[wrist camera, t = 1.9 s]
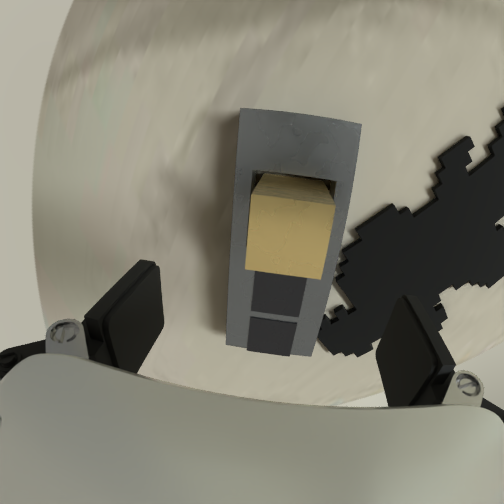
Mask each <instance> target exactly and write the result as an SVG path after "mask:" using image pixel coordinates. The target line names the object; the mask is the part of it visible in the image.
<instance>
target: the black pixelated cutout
mask: <svg viewBox="0 0 504 504" xmlns="http://www.w3.org/2000/svg"><path fill="white" fill-rule="evenodd" d="M501 110H502V112H503V115H504V107H503V108H502V109H501ZM495 129H496V131H497V133H498V137H497V138H496V139H495V140H493V141H492V142H491V143H490V144H488V145H487V146H488V148H489V150H490V153H491V155H490V156H489V157H488V158H486V159H485V160H484V161H483V162H481V163H480V164H479V165H478V166H476V167H475V168H474V169H473V170H471V171H470V172H469V173H468V172H467V169H466V166H467V165H468V164H470V163H471V162H472V160H471V157H470V155H469V153H468V151H469V150H471V149H472V148H473V147H475V146H474V144H473V142H472V140H471V137H470V136H466V137H464V138H463V139H462V140H460V141H459V142H458V143H456V144H455V145H453V146H452V147H451V148H449V149H448V150H447V151H445V152H444V153H443V154H441V155H440V156H439V157H438V159H439V161H440V163H441V165H442V168H440V169H439V170H438V171H436V172H435V175H436V177H437V179H438V181H439V183H438V184H436V185H435V186H434V187H432V190H433V192H434V194H435V197H436V198H435V199H433V200H432V201H430V202H429V203H428V204H426V205H425V206H424V207H422V208H421V209H419V210H418V211H417V212H415V213H414V214H412V213H411V211H410V210H409V208H408V207H405V208H403V209H402V210H400V211H399V212H398V211H397V209H396V207H395V205H394V204H390V205H389V206H387V207H386V208H385V209H383V210H382V211H380V212H379V213H377V214H376V215H374V216H373V217H372V218H370V219H369V220H367V221H366V222H364V223H363V224H361V225H360V226H358V227H357V228H355V229H356V231H357V233H358V234H359V236H360V237H361V238H359V239H358V240H356V241H355V242H353V243H352V244H350V245H349V246H347V247H346V248H344V249H343V250H342V251H343V253H344V255H345V256H346V258H347V259H346V260H344V261H343V262H341V263H340V264H339V267H340V269H341V270H342V271H343V273H342V274H340V275H339V276H337V277H336V282H337V283H338V285H339V286H340V287H341V289H342V290H343V291H344V293H345V294H346V296H347V297H348V298H349V300H350V301H351V302H352V304H353V305H354V307H353V308H351V309H350V310H348V311H347V310H346V309H345V307H344V306H343V304H342V305H340V306H339V307H337V308H335V309H334V314H335V315H336V316H337V317H336V318H334V319H332V320H330V319H329V318H328V317H327V316H326V314H325V315H323V319H322V322H321V326H320V329H319V332H318V336H317V337H318V339H319V340H320V341H321V342H322V343H323V344H324V345H325V347H326V348H327V349H328V350H329V351H330V352H331V353H332V354H333V356H334V355H336V354H338V353H340V352H342V353H343V354H344V355H345V356H348V355H350V354H352V353H354V354H355V355H356V356H357V357H359V356H361V355H363V354H365V353H367V352H369V351H371V350H373V347H372V344H371V343H373V342H375V341H376V340H378V339H380V338H382V336H383V333H384V331H385V328H386V326H387V324H388V321H389V319H390V316H391V314H392V311H393V308H394V306H395V303H396V301H397V299H398V298H401V297H402V295H412V296H417V297H418V299H419V300H420V302H421V304H422V305H423V307H424V308H425V310H426V312H427V313H428V315H429V317H430V318H431V320H432V322H433V324H434V325H435V327H436V329H437V330H438V331H440V330H441V329H443V328H442V325H441V323H442V322H443V321H445V320H446V319H448V317H447V315H446V312H445V309H444V307H443V305H442V304H441V303H440V304H439V305H437V306H436V307H434V305H436V304H437V303H438V302H440V301H441V299H440V297H439V294H440V293H441V292H443V291H444V290H445V289H447V288H448V287H450V286H451V285H453V287H454V288H455V290H457V289H458V288H460V287H461V286H463V285H464V284H465V283H467V282H468V281H469V283H470V284H471V286H473V285H475V284H476V283H477V284H478V285H479V286H480V287H482V286H483V285H484V284H485V285H486V286H487V287H488V289H489V288H490V287H491V286H492V285H494V284H495V283H496V282H497V281H498V280H500V279H501V278H502V277H503V276H504V228H503V226H502V225H500V224H499V225H498V226H495V223H496V222H497V221H498V220H500V219H501V218H502V217H503V216H504V120H503V121H502V122H500V123H499V124H498V125H497V126H495Z"/></svg>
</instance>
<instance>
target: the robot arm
mask: <svg viewBox="0 0 504 504" xmlns="http://www.w3.org/2000/svg"><path fill="white" fill-rule="evenodd" d="M84 318H85V319H84V320H83V322H82V323H80V322H79V321H77V320H75V319H63V320H59V321H57V322H55V323H53V324H52V325H51V326H50V327H49V328H48V330H47V332H46V339H45V340H41V341H37V342H33V343H29V344H25V345H21V346H16V347H12V348H8V349H6V350H4V351H2V352H1V353H0V504H504V410H502V409H501V408H499V407H497V406H496V405H494V404H492V403H491V402H489V401H487V400H486V399H484V398H483V394H484V387H483V384H482V382H481V380H480V379H479V378H478V377H477V376H476V375H475V374H473V373H471V372H469V371H465V370H461V371H458V372H456V373H455V372H454V370H453V369H454V367H455V366H456V364H455V362H454V360H453V358H452V356H451V354H450V352H449V350H448V348H447V347H446V345H445V343H444V341H443V339H442V337H441V336H440V334H439V332H438V330H437V329H436V327H435V325H434V324H433V322H432V320H431V318H430V317H429V315H428V313H427V312H426V310H425V308H424V307H423V305H422V304H421V302H420V300H419V299H418V297H417V296H412V295H402V297H401V298H398V299H397V301H396V303H395V306H394V308H393V311H392V314H391V316H390V319H389V321H388V324H387V326H386V328H385V331H384V333H383V336H382V338H381V340H380V342H379V345H378V347H377V349H376V360H377V364H378V368H379V371H380V375H381V379H382V383H383V387H384V390H385V394H386V398H387V403H388V407H337V406H318V405H304V404H292V403H282V402H273V401H265V400H258V399H251V398H244V397H238V396H232V395H226V394H220V393H215V392H210V391H205V390H200V389H195V388H190V387H186V386H182V385H177V384H173V383H169V382H165V381H161V380H158V379H154V378H150V377H146V376H143V375H139V374H137V372H138V370H139V369H140V367H141V365H142V363H143V362H144V360H145V358H146V357H147V355H148V353H149V351H150V350H151V348H152V346H153V345H154V343H155V341H156V339H157V338H158V336H159V334H160V333H161V331H162V329H163V327H164V314H163V304H162V292H161V280H160V268H159V266H156V264H155V262H153V261H147V260H139V261H138V262H137V263H136V264H135V265H134V266H133V267H132V268H131V269H130V270H129V271H128V272H127V273H126V274H125V275H124V276H123V277H122V278H121V279H120V280H119V281H118V282H117V283H116V284H115V285H114V286H113V287H112V288H111V289H110V290H109V291H108V292H107V293H106V294H105V295H104V296H103V297H102V298H101V299H100V300H99V301H98V302H97V303H96V304H95V305H94V306H93V307H92V308H91V309H90V310H89V311H88V312H87V313H86V315H85V316H84Z"/></svg>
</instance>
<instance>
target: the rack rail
mask: <svg viewBox="0 0 504 504" xmlns="http://www.w3.org/2000/svg"><path fill="white" fill-rule="evenodd" d="M361 126H362V124H358V123H354V122H348V121H343V120H338V119H332V118H326V117H320V116H314V115H307V114H299V113H291V112H283V111H273V110H262V109H249V108H240V118H239V130H238V143H237V156H236V169H235V183H234V197H233V213H232V229H231V245H230V263H229V282H228V302H227V325H226V345H231V346H236V347H242V348H247V351H253V352H260V353H267V354H274V355H282V356H290V354H292V355H301V356H310V357H311V355H312V352H313V349H314V346H315V342H316V339H317V336H318V332H319V329H320V326H321V322H322V319H323V315H324V311H325V308H326V304H327V300H328V297H329V293H330V289H331V285H332V281H333V277H334V273H335V269H336V265H337V260H338V256H339V252H340V247H341V243H342V238H343V233H344V229H345V224H346V219H347V214H348V209H349V203H350V198H351V192H352V187H353V181H354V175H355V169H356V162H357V156H358V149H359V142H360V134H361ZM256 170H261V171H270V172H278V173H286V174H294V175H301V176H308V177H315V178H321V179H328V180H331V185H330V191H329V193H330V195H331V197H332V199H333V201H334V203H335V205H336V208H335V213H334V219H333V224H332V229H331V234H330V239H329V244H328V249H327V254H326V259H325V263H324V268H323V272H322V277H321V280H320V279H312V278H305V277H297V276H290V275H282V274H275V273H268V272H261V271H254V270H247V269H245V262H246V250H247V238H248V226H249V215H250V203H251V194H252V192H253V191H254V189H255V181H256Z"/></svg>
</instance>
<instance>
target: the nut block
mask: <svg viewBox="0 0 504 504" xmlns="http://www.w3.org/2000/svg"><path fill="white" fill-rule="evenodd" d="M335 208H336V205H335V203H334V201H333V199H332V197H331V195H330V193H329V191H328V189H327V188H326V186H325V184H324V182H323V181H319V180H312V179H305V178H298V177H291V176H283V175H275V174H267V173H264V174H263V176H262V178H261V179H260V181H259V182H258V184H257V186H256V187H255V189H254V191H253V192H252V194H251V203H250V215H249V226H248V238H247V250H246V262H245V269H247V270H254V271H261V272H268V273H275V274H282V275H290V276H297V277H305V278H312V279H320V280H321V277H322V272H323V268H324V263H325V259H326V254H327V249H328V244H329V239H330V234H331V229H332V224H333V219H334V213H335Z"/></svg>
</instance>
